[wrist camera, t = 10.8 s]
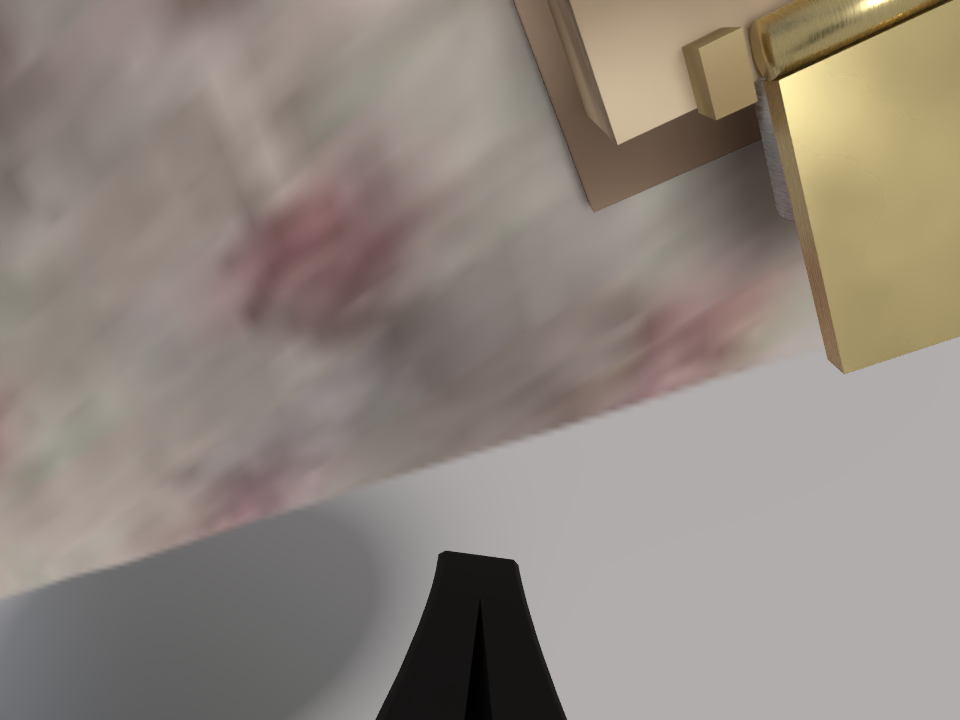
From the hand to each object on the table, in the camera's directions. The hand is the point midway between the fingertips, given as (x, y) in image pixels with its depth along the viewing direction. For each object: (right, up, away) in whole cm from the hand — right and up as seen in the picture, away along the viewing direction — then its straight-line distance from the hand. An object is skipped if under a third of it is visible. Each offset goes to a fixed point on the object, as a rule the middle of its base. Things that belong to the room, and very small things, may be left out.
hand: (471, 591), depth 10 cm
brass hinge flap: (+8, +8, 0) cm, 11 cm away
